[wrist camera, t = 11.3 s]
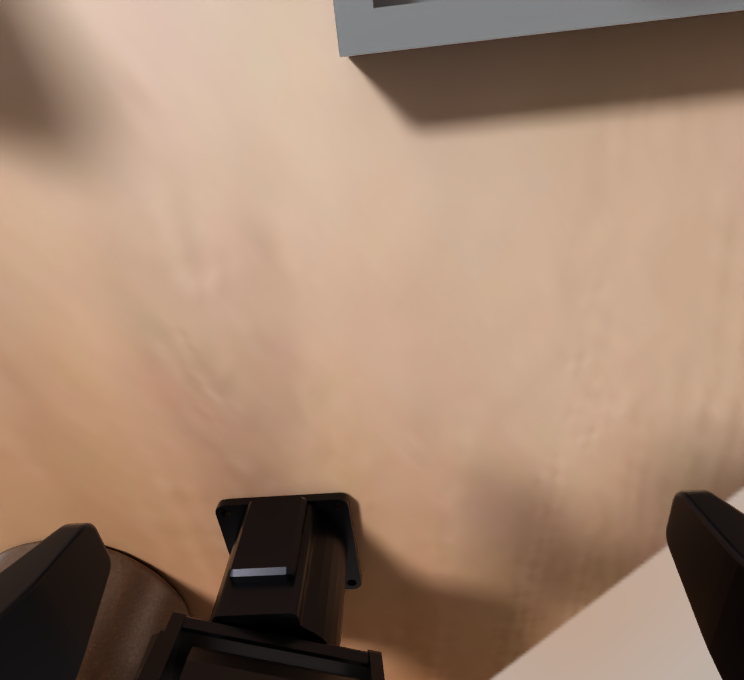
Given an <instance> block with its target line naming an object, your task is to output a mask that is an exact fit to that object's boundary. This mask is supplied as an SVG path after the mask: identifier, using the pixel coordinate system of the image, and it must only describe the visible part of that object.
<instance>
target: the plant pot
mask: <svg viewBox="0 0 744 680" xmlns="http://www.w3.org/2000/svg"><path fill="white" fill-rule="evenodd" d="M40 542H42V541H39V542H33V543H27V544H23V545H20V546H17V547H14V548H11V549H9V550H6V551H4V552H2V553H1V554H0V572H1V571H3V570H4V569H5V568H7V567H8V566H9V565H11V564H12V563H13V562H15V561H16V560H17V559H19V558H20V557H21V556H23V555H24V554H26V553H27V552H28V551H30V550H31V549H32V548H34V547H35V546H36V545H38V544H39V543H40ZM106 549H107V548H106ZM107 551H108V553H109V555H110V559H111V569H110V574H109V577H108V581H107V584H106V587H105V590H104V594H103V597H102V600H101V603H100V607H99V610H98V613H97V616H96V619H95V623H94V626H93V629H92V632H91V636H90V639H89V642H88V645H87V649H86V652H85V655H84V658H83V661H82V664H81V667H80V670H79V672H78V675H77V677H76V680H133V679H134V677H135V675H136V672H137V670H138V668H139V666H140V663H141V661H142V658H143V656H144V653H145V651H146V649H147V646H148V644H149V641H150V639H151V636H152V635H154V634H157V633H159V632H160V630H161V629H166V626H167V624H168V622H169V620H170V618H171V615H172V613H173V611H176V612H182V613H187V616H189V617H190V614H189V611H188V609H187V607H186V605H185V603H184V602H183V600H182V598H181V597H180V595H179V594H178V593H177V592H176V591H175V590H174V589H173V588H172V587H171V586H170V585H169V584H168V583H167V582H166V581H165V580H164V579H163V578H162V577H160V576H159V575H158V574H157V573H155V572H154V571H153V570H151V569H149V568H148V567H146V566H145V565H143V564H141V563H140V562H138V561H136V560H134V559H132V558H130V557H128V556H126V555H124V554H122V553H119V552H117V551H114V550H111V549H107Z"/></svg>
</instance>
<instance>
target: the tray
mask: <svg viewBox="0 0 744 680" xmlns="http://www.w3.org/2000/svg"><path fill="white" fill-rule="evenodd" d="M333 2H334V11H335V20H336V28H337V37H338V46H339V54H340V57H348V56H357V55H366V54H374V53H383V52H391V51H400V50H409V49H417V48H426V47H434V46H443V45H452V44H460V43H469V42H478V41H486V40H495V39H503V38H512V37H521V36H529V35H538V34H546V33H555V32H564V31H572V30H581V29H589V28H598V27H607V26H615V25H624V24H632V23H641V22H650V21H658V20H667V19H675V18H684V17H693V16H701V15H710V14H718V13H727V12H736V11H744V0H333Z"/></svg>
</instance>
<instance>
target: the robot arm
mask: <svg viewBox="0 0 744 680" xmlns="http://www.w3.org/2000/svg"><path fill="white" fill-rule="evenodd" d="M336 503H340V505H338V504H336ZM225 509H226V510H225ZM228 510H229V511H228ZM216 516H217V519H218V522H219V525H220V528H221V531H222V534H223V537H224V540H225V543H226V546H227V549H228V552H229V555H230V557H229V561H228V564H227V567H226V570H225V573H224V576H223V580H222V583H221V586H220V589H219V592H218V595H217V599H216V602H215V605H214V608H213V611H212V614H211V618H210V621H209V620H204V619H199V618H194V617H189V616H187V613H182V612H176V611H173V613H172V615H171V618H170V620H169V622H168V624H167V626H166V629H161V630H160V632H159V633H157V634H154V635H152V636H151V639H150V641H149V644H148V646H147V649H146V651H145V653H144V656H143V658H142V661H141V663H140V666H139V668H138V670H137V672H136V675H135V677H134V679H133V680H385V679H384V670H383V662H382V654H381V652H378V651H373V650H368V651H367V652H366V651H361V650H356V649H351V648H346V647H340V641H341V628H342V616H343V604H344V592H345V589H356V588H358V587H360V585H361V577H362V575H361V569H360V563H359V557H358V551H357V545H356V539H355V533H354V527H353V521H352V515H351V509H350V503H349V499H348V497H347V496H346V495H344V494H341V493H332V494H314V495H296V496H278V497H260V498H242V499H225V500H222V501H220V502H219V504H218V506H217V508H216ZM666 538H667V543H668V546H669V549H670V552H671V554H672V557H673V560H674V562H675V565H676V568H677V570H678V573H679V576H680V578H681V581H682V583H683V586H684V588H685V591H686V594H687V597H688V599H689V602H690V604H691V607H692V610H693V612H694V615H695V618H696V620H697V623H698V625H699V628H700V631H701V633H702V636H703V638H704V640H705V643H706V645H707V648H708V650H709V652H710V655H711V657H712V659H713V661H714V663H715V665H716V667H717V669H718V672H719V674H720V675H721V678H722V679H723V680H744V514H743V513H742V512H740V511H739V510H737V509H736V508H734V507H733V506H731V505H730V504H728V503H727V502H725V501H724V500H722V499H721V498H719V497H717V496H716V495H714V494H713V493H711V492H709V491H706V490H690V491H679V492H677V493H676V494H675V496H674V498H673V502H672V506H671V511H670V515H669V519H668V524H667V528H666ZM110 569H111V559H110V555H109V553H108V551H107V549H106V547H105V545H104V543H103V541H102V539H101V537H100V535H99V533H98V531H97V529H96V527H95V526H94V525H92V524H91V523H76V524H67V525H64V526H62V527H60V528H59V529H58V530H56V531H55V532H54V533H52V534H51V535H50V536H48V537H47V538H46V539H44V540H43V541H42V542H40V543H39V544H38V545H36V546H35V547H34V548H32V549H31V550H30V551H28V552H27V553H26V554H24V555H23V556H21V557H20V558H19V559H17V560H16V561H15V562H13V563H12V564H11V565H9V566H8V567H7V568H5V569H4V570H3V571H1V572H0V680H76V677H77V675H78V672H79V670H80V667H81V664H82V661H83V658H84V655H85V652H86V649H87V645H88V642H89V639H90V636H91V632H92V629H93V626H94V623H95V619H96V616H97V613H98V610H99V607H100V603H101V600H102V597H103V594H104V590H105V587H106V584H107V581H108V577H109V574H110Z"/></svg>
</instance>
